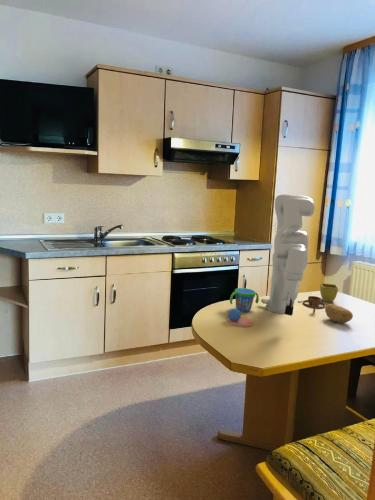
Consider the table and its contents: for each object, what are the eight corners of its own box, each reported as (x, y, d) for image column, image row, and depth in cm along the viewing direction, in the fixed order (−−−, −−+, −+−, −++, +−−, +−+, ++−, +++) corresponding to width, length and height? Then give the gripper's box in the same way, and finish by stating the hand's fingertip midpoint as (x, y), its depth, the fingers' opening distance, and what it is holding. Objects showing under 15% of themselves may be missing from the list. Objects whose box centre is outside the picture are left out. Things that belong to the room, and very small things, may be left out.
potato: (344, 328, 195) (346, 312, 193) (319, 318, 206) (321, 303, 204) (355, 325, 200) (358, 309, 199) (331, 315, 211) (333, 301, 210)
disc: (222, 322, 189) (222, 322, 189) (231, 315, 201) (231, 314, 201) (249, 329, 184) (249, 328, 184) (257, 320, 196) (257, 320, 196)
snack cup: (253, 306, 217) (255, 287, 215) (261, 313, 207) (263, 294, 205) (225, 306, 214) (227, 287, 212) (232, 313, 204) (234, 293, 202)
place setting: (333, 308, 226) (335, 298, 225) (315, 315, 212) (317, 304, 211) (305, 300, 238) (306, 290, 237) (286, 306, 224) (287, 295, 223)
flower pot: (320, 301, 235) (322, 286, 234) (318, 297, 244) (320, 282, 242) (336, 303, 234) (338, 288, 232) (333, 299, 242) (335, 284, 241)
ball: (242, 315, 188) (234, 325, 190) (244, 312, 194) (237, 321, 196) (231, 308, 189) (224, 317, 191) (233, 304, 195) (227, 314, 197)
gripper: (288, 269, 187) (283, 307, 192) (281, 277, 174) (276, 318, 178) (305, 272, 184) (300, 311, 189) (299, 281, 171) (293, 322, 175)
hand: (288, 314), depth 183 cm, fingers closed
